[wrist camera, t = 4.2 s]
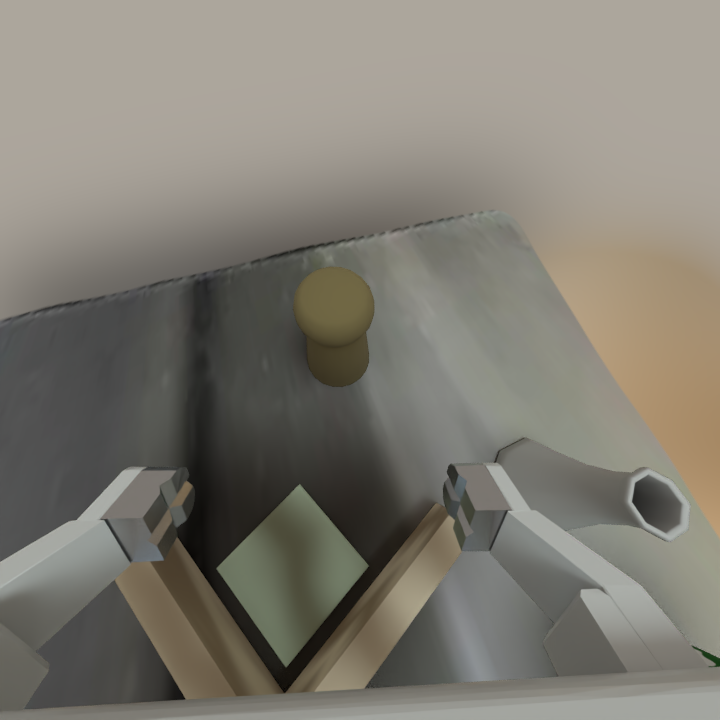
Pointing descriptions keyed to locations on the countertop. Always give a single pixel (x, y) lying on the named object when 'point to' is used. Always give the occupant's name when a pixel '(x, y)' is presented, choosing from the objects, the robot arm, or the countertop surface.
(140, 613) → the corner arena
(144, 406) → the countertop surface
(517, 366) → the countertop surface
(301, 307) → the cork
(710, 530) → the countertop surface
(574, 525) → the flask
